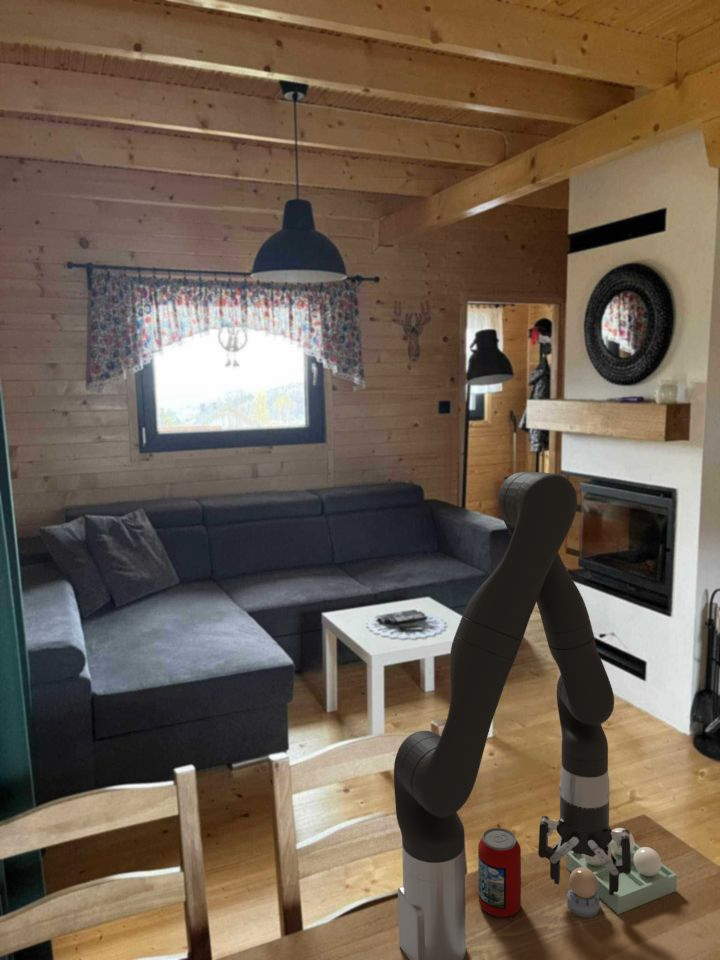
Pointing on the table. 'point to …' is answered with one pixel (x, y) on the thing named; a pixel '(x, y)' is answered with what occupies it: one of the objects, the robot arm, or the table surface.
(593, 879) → the brown egg
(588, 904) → the egg cup
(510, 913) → the beverage can
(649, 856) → the white egg
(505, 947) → the table surface
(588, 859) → the white egg
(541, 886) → the table surface
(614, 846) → the white egg
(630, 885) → the egg carton
